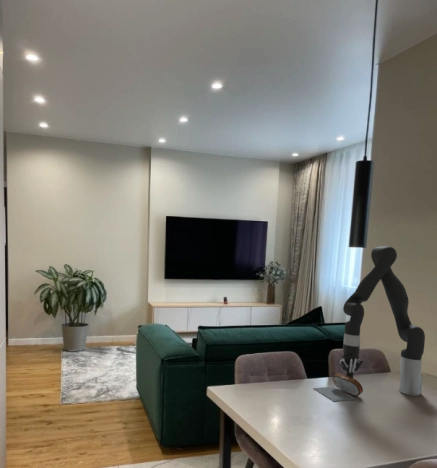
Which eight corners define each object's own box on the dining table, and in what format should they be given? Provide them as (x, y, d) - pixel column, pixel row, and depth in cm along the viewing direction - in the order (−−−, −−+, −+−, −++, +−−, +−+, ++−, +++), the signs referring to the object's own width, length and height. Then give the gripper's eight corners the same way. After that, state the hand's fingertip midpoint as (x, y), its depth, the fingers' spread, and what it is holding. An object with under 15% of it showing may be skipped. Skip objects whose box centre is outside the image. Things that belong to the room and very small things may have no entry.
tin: (364, 395, 174) (361, 380, 173) (360, 399, 173) (357, 384, 171) (337, 384, 186) (334, 369, 185) (333, 387, 185) (330, 373, 183)
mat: (333, 387, 186) (333, 386, 186) (355, 399, 171) (355, 399, 171) (313, 388, 182) (313, 388, 182) (333, 401, 167) (333, 401, 167)
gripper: (357, 341, 187) (355, 376, 186) (335, 341, 182) (333, 377, 181) (368, 345, 180) (366, 382, 179) (345, 345, 175) (343, 383, 174)
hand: (349, 379), depth 180 cm, fingers closed
